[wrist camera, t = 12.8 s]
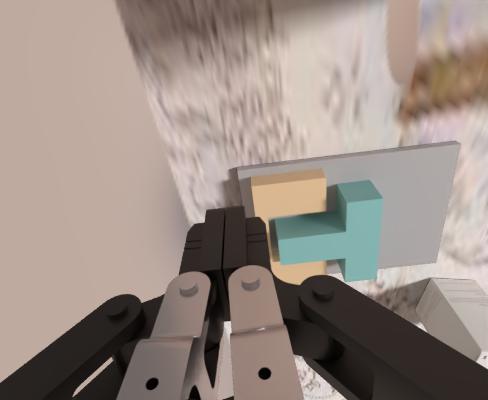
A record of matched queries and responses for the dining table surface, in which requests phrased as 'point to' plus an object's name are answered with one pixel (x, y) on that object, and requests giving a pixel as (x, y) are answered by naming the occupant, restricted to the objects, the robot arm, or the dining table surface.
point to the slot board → (351, 170)
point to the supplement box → (457, 316)
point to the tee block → (337, 233)
